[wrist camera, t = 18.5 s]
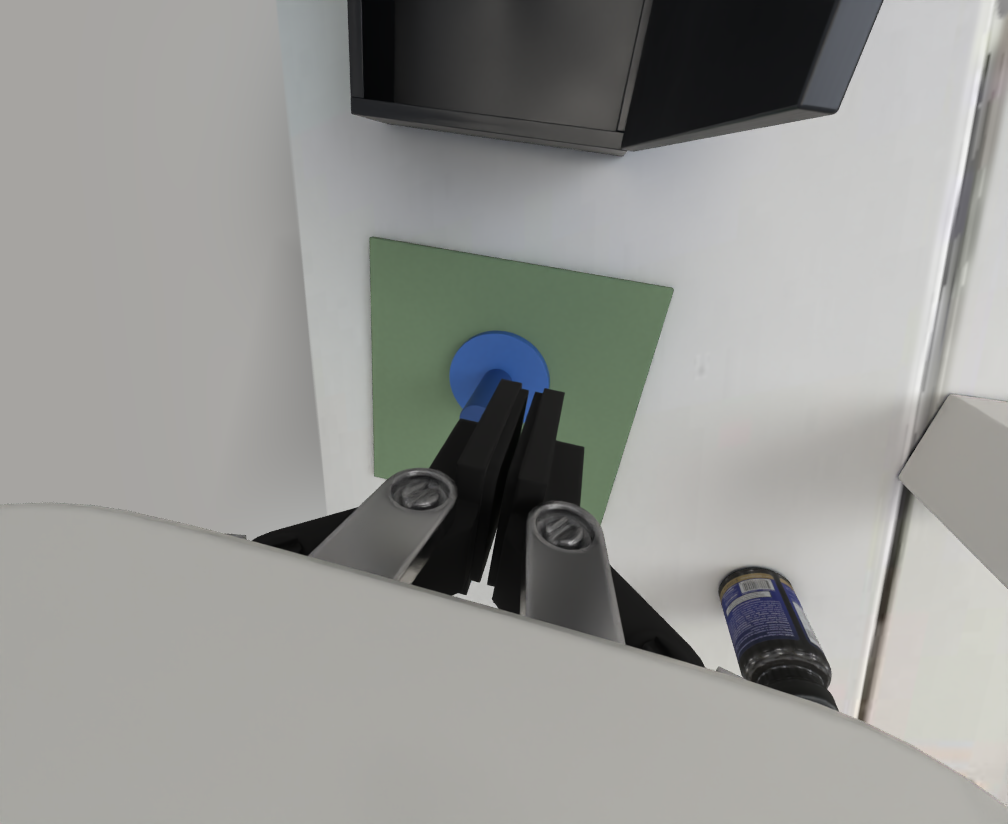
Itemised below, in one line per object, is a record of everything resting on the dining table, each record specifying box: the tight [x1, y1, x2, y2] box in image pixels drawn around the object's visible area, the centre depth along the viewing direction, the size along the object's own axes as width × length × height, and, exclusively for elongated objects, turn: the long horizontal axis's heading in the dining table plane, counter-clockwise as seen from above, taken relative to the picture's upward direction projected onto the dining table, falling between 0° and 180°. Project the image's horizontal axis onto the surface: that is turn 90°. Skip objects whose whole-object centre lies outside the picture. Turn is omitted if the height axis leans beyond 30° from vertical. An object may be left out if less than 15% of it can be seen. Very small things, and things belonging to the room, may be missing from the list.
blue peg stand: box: [449, 331, 550, 423], centre depth 32 cm, size 8×8×7 cm
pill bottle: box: [719, 568, 839, 712], centre depth 35 cm, size 6×6×11 cm
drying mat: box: [369, 237, 674, 525], centre depth 36 cm, size 22×22×1 cm
